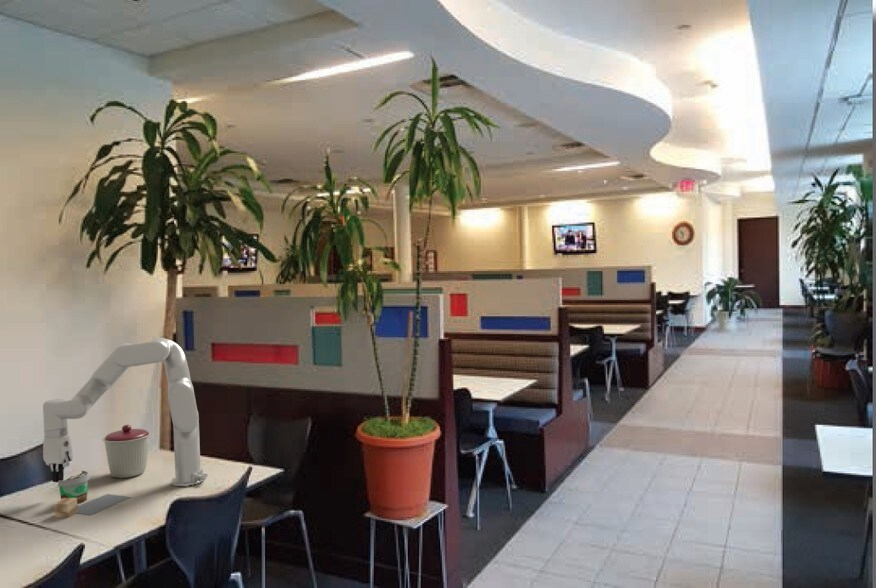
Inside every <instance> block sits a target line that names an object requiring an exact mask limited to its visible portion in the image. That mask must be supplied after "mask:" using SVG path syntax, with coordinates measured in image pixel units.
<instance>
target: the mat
mask: <svg viewBox="0 0 876 588" xmlns="http://www.w3.org/2000/svg"><path fill="white" fill-rule="evenodd" d="M131 498H133V497H132V496H126V495H117V494H110V493H106V494H104V495H101V496H99V497H97V498H94V499H92V500H89V501H87V502H85V503H84V502H83V503H81V504H80V505H79V504H78V512H77V513H76V514H77V515H83V516H84V515H85V516H92V515H95V514H97V513H100V512H102V511H104V510H106V509H108V508H112V507H113V506H116V505H118V504H121V503H122V502H125V501H127V500H130V499H131Z"/></svg>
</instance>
